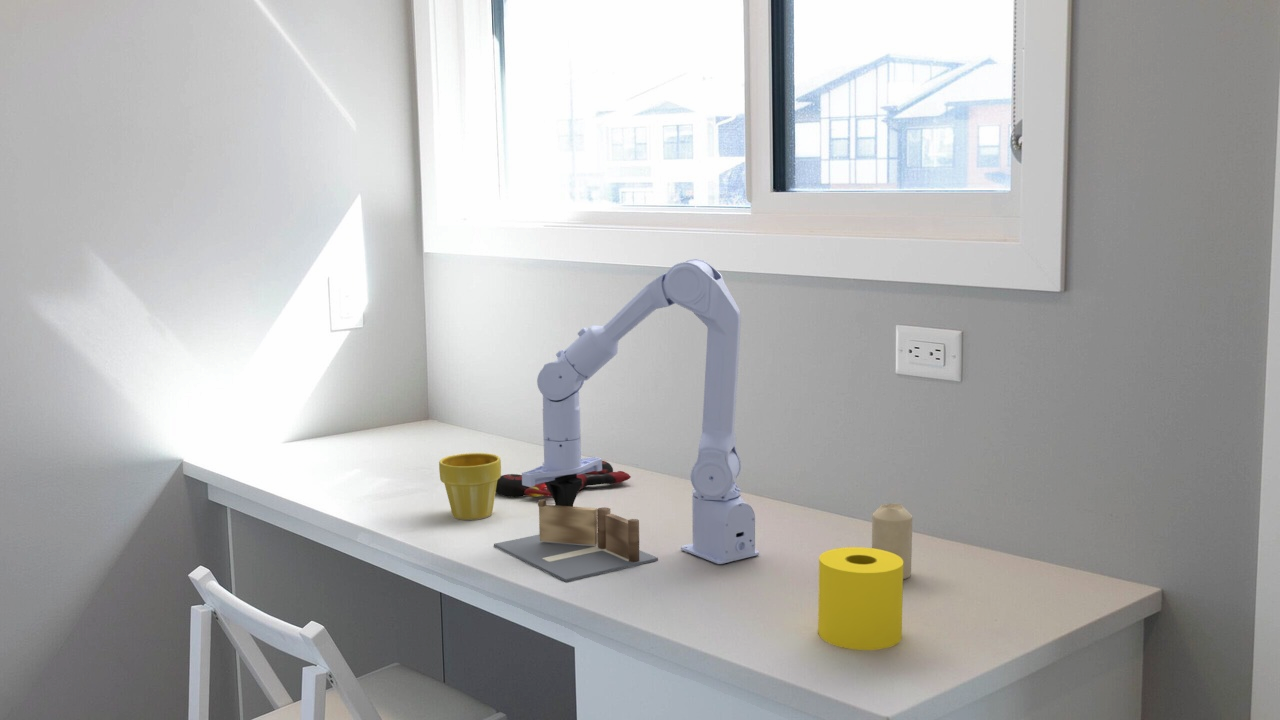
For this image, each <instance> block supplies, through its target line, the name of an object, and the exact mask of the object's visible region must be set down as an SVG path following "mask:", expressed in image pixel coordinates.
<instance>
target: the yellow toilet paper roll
mask: <svg viewBox="0 0 1280 720" xmlns="http://www.w3.org/2000/svg"><path fill="white" fill-rule="evenodd" d="M903 587H904V579H903V560H902V558H901V557H899V556H898V555H896V554H894V553H891V552H888V551H884V550H879V549H873V548H872V547H860V546H858V547H857V546H855V547H854V546H851V547H850V546H849V547H846V546H845V547H838V548H833V549H828V550H825V551H824V552H821V554H820V555H819V557H818V612H817V613H818V620H817V621H818V627H817V631H818V633H819V634H818V636H819V637H820V638H821V639H822V640H823V641H824V642H826V643H829V644H830V645H832V646H833V645H834V646H836V647H839V648H843V647H844V648H843V649H850V650H856V651H857V650H859V651H875V650H876V651H877V650H882V649H883V650H884V649H888V648H891V647H894V646H896V645H898V644H899V643H900V642H901V640H902V638H903V637H902V635H903V633H902V632H903V630H902V629H903V598H904V597H903V596H904V595H903V591H904V588H903Z"/></svg>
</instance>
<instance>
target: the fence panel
mask: <svg viewBox="0 0 1280 720" xmlns="http://www.w3.org/2000/svg"><path fill="white" fill-rule="evenodd" d="M537 507H538V519H539V520H538V523H539V524H538V525H539V528H538V529H539V534H540V541H546V542H558V543H570V544H583V545H596V544H597V533H598V528H597V509H598V508H597V507H587V506H586V507H585V506H573V507H572V506H558V505H555V504H547V499H543V498H541V499H539V500H537Z"/></svg>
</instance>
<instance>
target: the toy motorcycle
mask: <svg viewBox="0 0 1280 720" xmlns="http://www.w3.org/2000/svg"><path fill="white" fill-rule="evenodd" d="M631 477H632V476H630V474H629V473H627V472H626V471H623V470H617V471H614V469H613V466H612V464H611V463H609V462H607V461H605V460H602V471H592V472H587V473H583V474H579V475H577V478H581V479H582V486H581V488H580V490H582V489H584V488H586V487H589V486H598V485H599V486H600V485H616V484H620V483H623V482H626V481H628V480H630V479H631ZM495 494H498V496H499V495H500V496H504V497H506V498H519V497H520V498H521V497H526V496H527V497H531V498H536V497H552V495H551V493H550V491H549V489H548V488H547V486H546V485H545V482H544V483H540V484H536V485H535V486H533V487H528V486H524V485H522V474H517V473H516V474H515V473H510V474H503V475H502V474H501V477H500V478H499V479H498V480H497V486H496V492H495ZM552 498H553V497H552Z"/></svg>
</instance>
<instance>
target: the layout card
mask: <svg viewBox="0 0 1280 720" xmlns="http://www.w3.org/2000/svg"><path fill="white" fill-rule="evenodd" d="M493 547H494V548H497V549H498V550H500V551H503V552H504V553H506V554H508V555H511V556H512V557H515V558H517V559H519V560H521V561H522V562H525V563H527V564H529V565H531V566H532V567H534V568H537V569H539V570H541V571H543V572H545V573H547V574H549V575H551V576H553V577H555V578H557V579H558V580H561V581H562V582H565V583H567V582H572V581H577V580H581V579H585V578H589V577H594V576H598V575H601V574H605V573H610V572H615V571H619V570H622V569H628V568H632V567H636V566H639V565H640V566H641V565H645V564H649V563H654V562H657V561H659V557H658V556H654V555H652V554H650V553H648V552H645V551H642V550H640V549H639V561H638V562H630V561H629V559H626V558H624V557H622V556H619V555H617V554H615V553H612V552H610V551H608V550H606V549H600V548H598V532H597V544H596V545H583V544H570V543H558V542H546V541H540V533H538V534H535V535H530V536H525V537H521V538H514V539H511V540H506V541H505V540H504V541H500V542H497V543H493Z"/></svg>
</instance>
